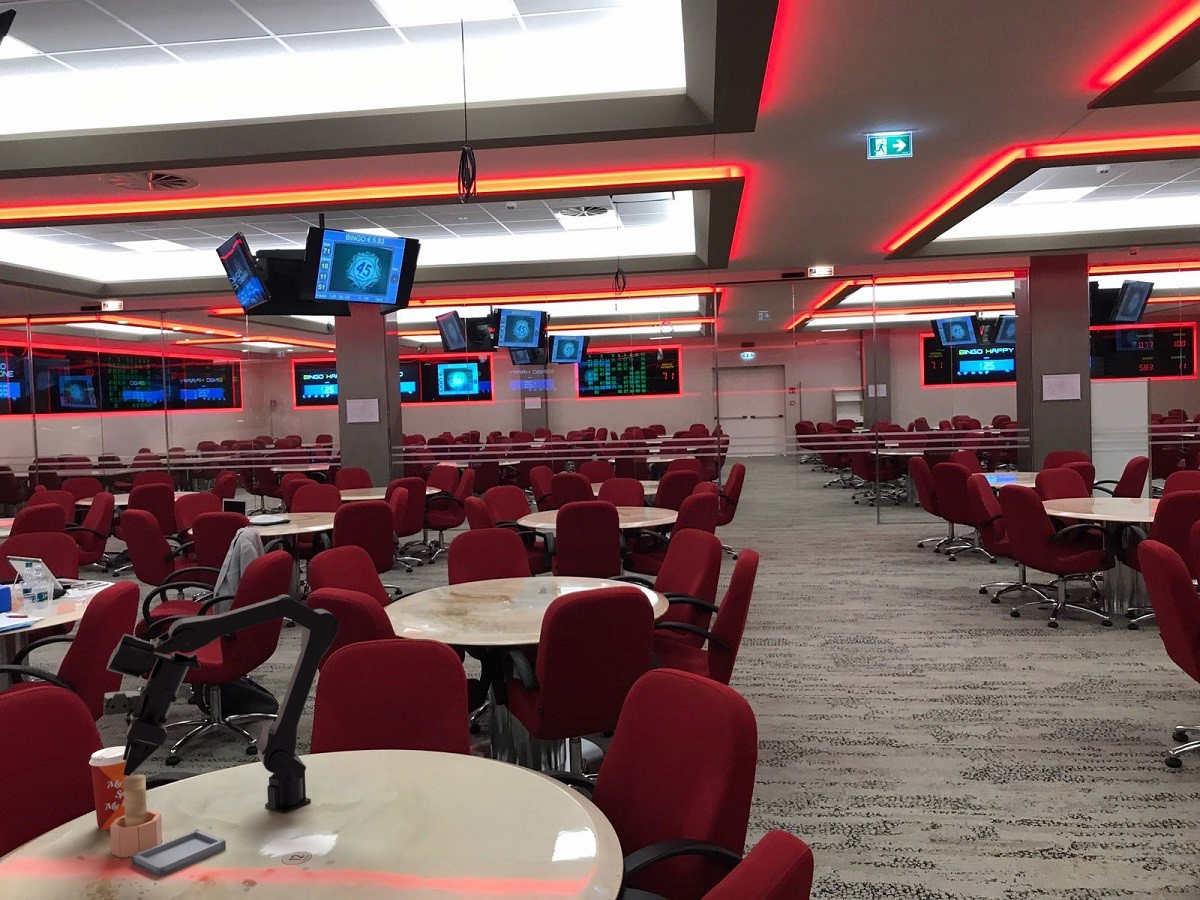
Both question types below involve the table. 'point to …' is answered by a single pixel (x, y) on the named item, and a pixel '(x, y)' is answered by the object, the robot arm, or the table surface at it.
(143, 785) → the oak peg
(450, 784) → the table surface
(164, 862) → the slate tray
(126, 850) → the pot
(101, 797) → the paper cup
